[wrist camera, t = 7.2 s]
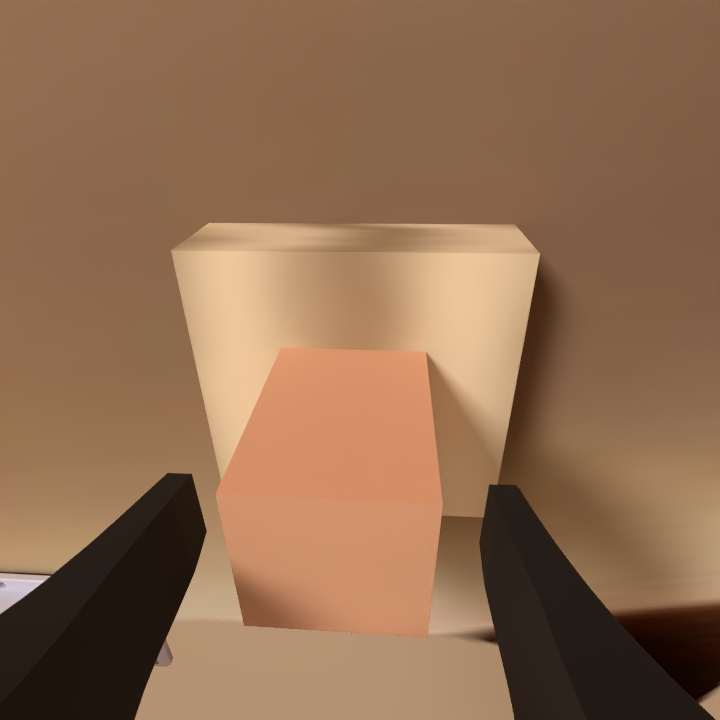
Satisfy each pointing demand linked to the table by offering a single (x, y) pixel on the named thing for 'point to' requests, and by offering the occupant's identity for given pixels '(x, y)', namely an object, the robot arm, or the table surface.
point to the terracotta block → (336, 495)
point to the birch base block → (367, 322)
